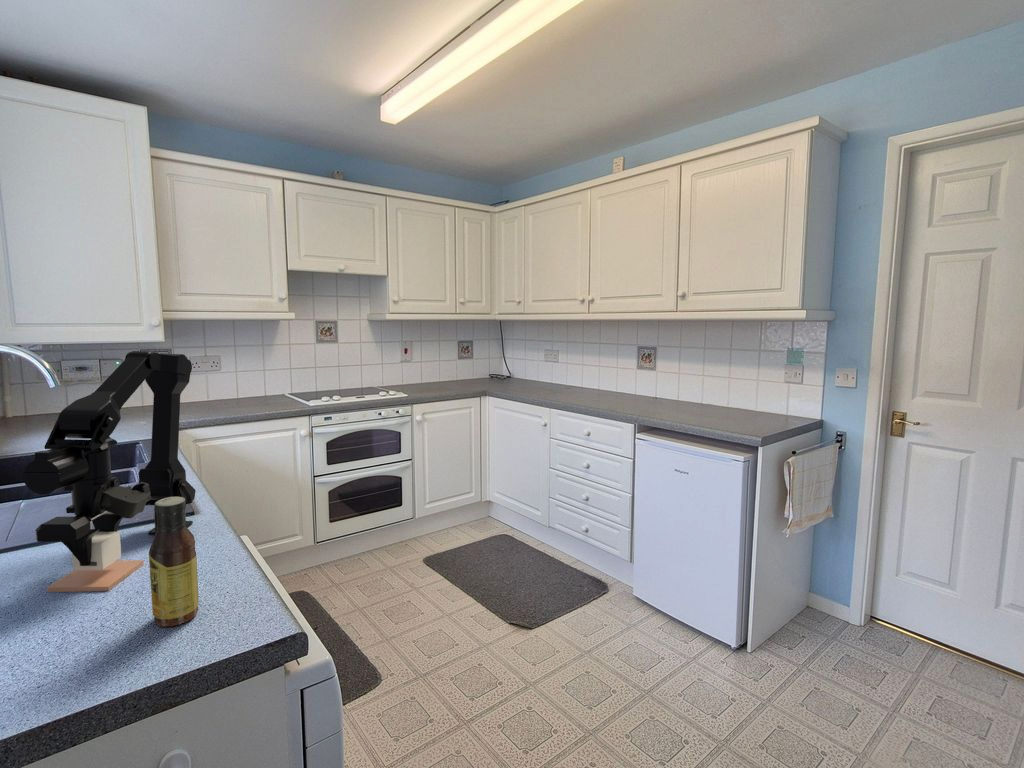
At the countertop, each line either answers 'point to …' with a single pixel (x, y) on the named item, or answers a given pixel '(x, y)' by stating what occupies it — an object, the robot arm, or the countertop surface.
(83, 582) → the terracotta tile
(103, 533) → the cream letter cube
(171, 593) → the sauce bottle
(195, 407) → the countertop surface
